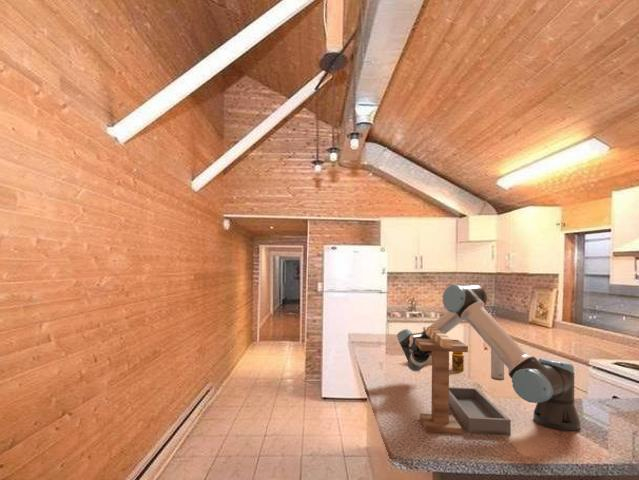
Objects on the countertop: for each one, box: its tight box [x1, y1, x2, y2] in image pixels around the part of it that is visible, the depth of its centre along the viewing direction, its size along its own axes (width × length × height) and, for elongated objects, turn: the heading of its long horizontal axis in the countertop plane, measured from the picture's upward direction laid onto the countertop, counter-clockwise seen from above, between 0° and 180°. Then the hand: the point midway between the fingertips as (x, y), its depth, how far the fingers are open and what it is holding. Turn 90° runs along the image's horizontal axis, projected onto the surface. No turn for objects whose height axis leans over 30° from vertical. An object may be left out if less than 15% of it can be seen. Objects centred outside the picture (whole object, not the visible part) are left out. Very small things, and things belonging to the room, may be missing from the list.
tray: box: [449, 386, 512, 436], centre depth 154 cm, size 35×14×5 cm, turn 176°
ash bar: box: [426, 326, 453, 348], centre depth 147 cm, size 26×3×3 cm, turn 176°
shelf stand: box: [415, 338, 469, 435], centre depth 143 cm, size 12×16×30 cm
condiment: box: [449, 352, 467, 373], centre depth 220 cm, size 7×8×12 cm
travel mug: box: [490, 348, 505, 381], centre depth 205 cm, size 6×7×20 cm
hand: (428, 338), depth 163 cm, fingers open, 13 cm apart
